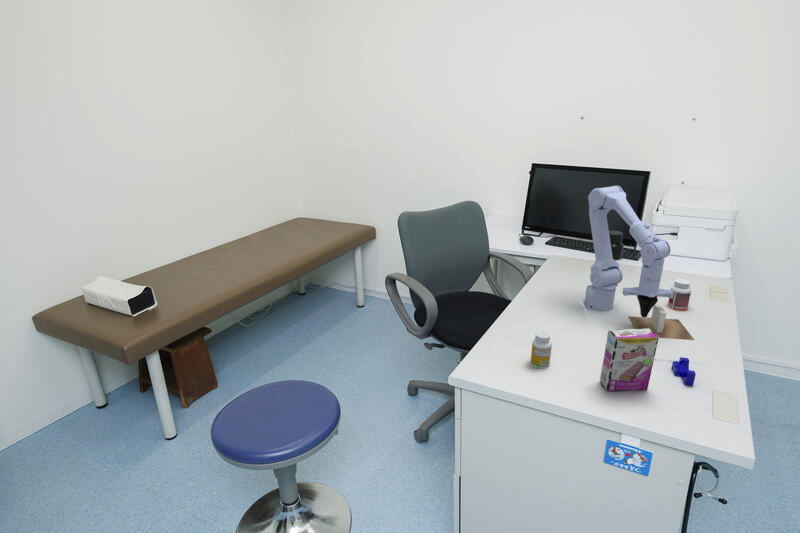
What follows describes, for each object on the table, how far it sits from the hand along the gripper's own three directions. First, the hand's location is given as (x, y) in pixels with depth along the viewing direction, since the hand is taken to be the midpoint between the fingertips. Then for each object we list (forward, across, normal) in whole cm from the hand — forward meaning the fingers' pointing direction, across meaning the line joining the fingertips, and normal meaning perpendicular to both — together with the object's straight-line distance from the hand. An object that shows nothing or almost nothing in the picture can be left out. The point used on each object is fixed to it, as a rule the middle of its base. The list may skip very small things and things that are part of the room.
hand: (643, 315), depth 151 cm
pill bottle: (+5, +16, +17) cm, 24 cm away
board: (+5, +6, 0) cm, 7 cm away
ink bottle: (+5, +6, +72) cm, 72 cm away
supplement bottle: (+5, -34, -26) cm, 44 cm away
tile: (+4, +4, 0) cm, 6 cm away
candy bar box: (+5, -14, -34) cm, 37 cm away
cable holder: (+5, +3, -27) cm, 28 cm away
